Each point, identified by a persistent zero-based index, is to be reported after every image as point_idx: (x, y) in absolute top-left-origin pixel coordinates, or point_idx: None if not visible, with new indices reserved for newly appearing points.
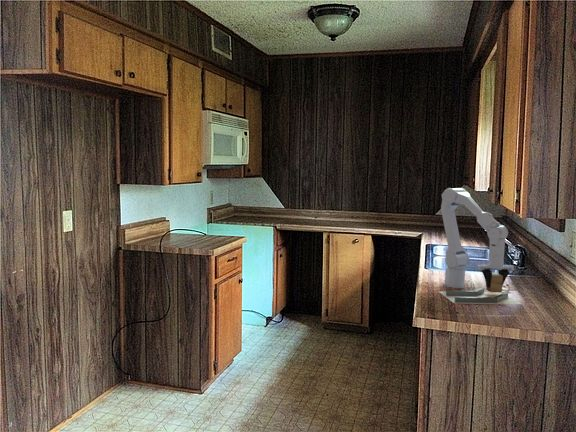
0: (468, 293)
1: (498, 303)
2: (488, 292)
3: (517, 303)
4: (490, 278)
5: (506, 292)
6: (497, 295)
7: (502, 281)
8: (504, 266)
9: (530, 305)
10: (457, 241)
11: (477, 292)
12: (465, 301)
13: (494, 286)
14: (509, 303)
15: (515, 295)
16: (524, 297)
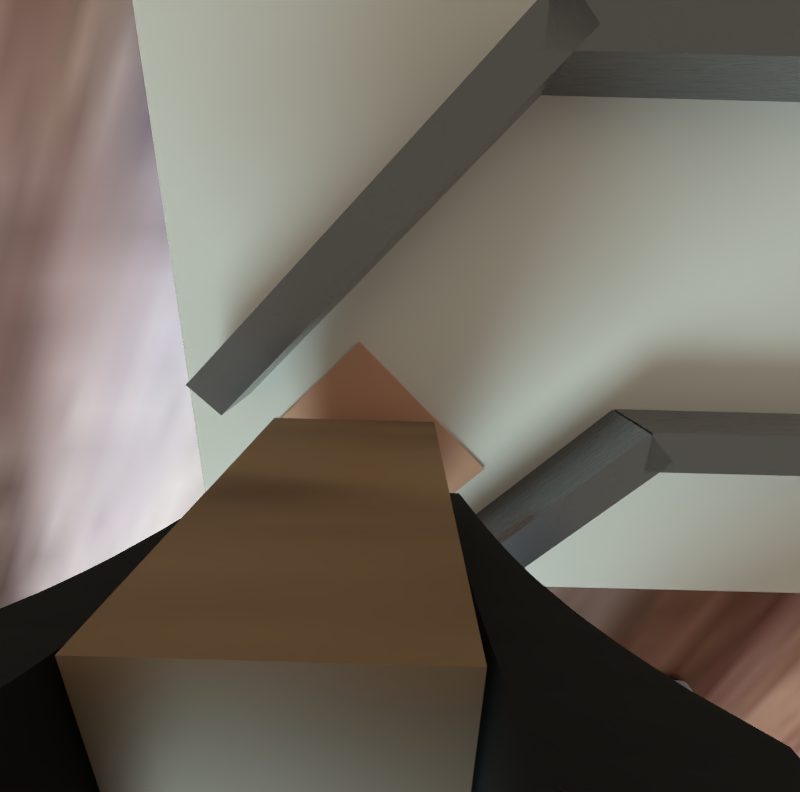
0: (743, 424)
1: (510, 10)
2: None
3: (197, 21)
4: (491, 600)
5: (211, 388)
6: None
7: (183, 518)
8: None
9: (15, 53)
10: None
11: (610, 445)
12: None
13: (382, 463)
14: (328, 16)
15: (85, 515)
16: (3, 443)
